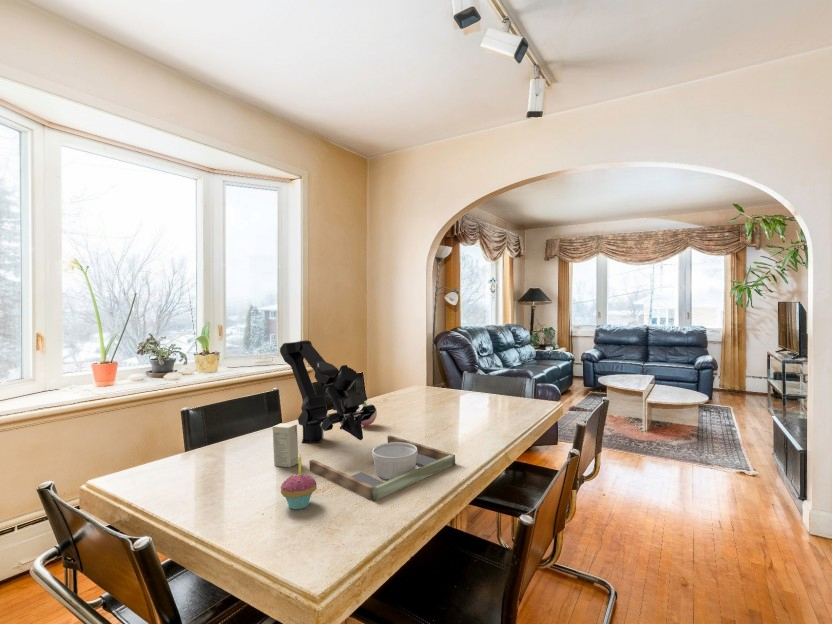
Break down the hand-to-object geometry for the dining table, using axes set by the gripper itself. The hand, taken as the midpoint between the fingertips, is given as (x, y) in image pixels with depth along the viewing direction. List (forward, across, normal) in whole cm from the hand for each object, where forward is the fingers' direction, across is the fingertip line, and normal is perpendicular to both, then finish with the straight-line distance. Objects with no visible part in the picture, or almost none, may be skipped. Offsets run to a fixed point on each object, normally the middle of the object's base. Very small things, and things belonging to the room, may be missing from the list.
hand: (361, 439), depth 134 cm
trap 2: (+15, +11, -6) cm, 19 cm away
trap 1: (+15, -11, -6) cm, 19 cm away
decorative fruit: (-14, +24, +24) cm, 37 cm away
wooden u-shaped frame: (+12, 0, -3) cm, 12 cm away
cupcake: (+14, -30, -4) cm, 33 cm away
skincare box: (-5, -18, +15) cm, 24 cm away
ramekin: (+16, 0, -6) cm, 17 cm away
